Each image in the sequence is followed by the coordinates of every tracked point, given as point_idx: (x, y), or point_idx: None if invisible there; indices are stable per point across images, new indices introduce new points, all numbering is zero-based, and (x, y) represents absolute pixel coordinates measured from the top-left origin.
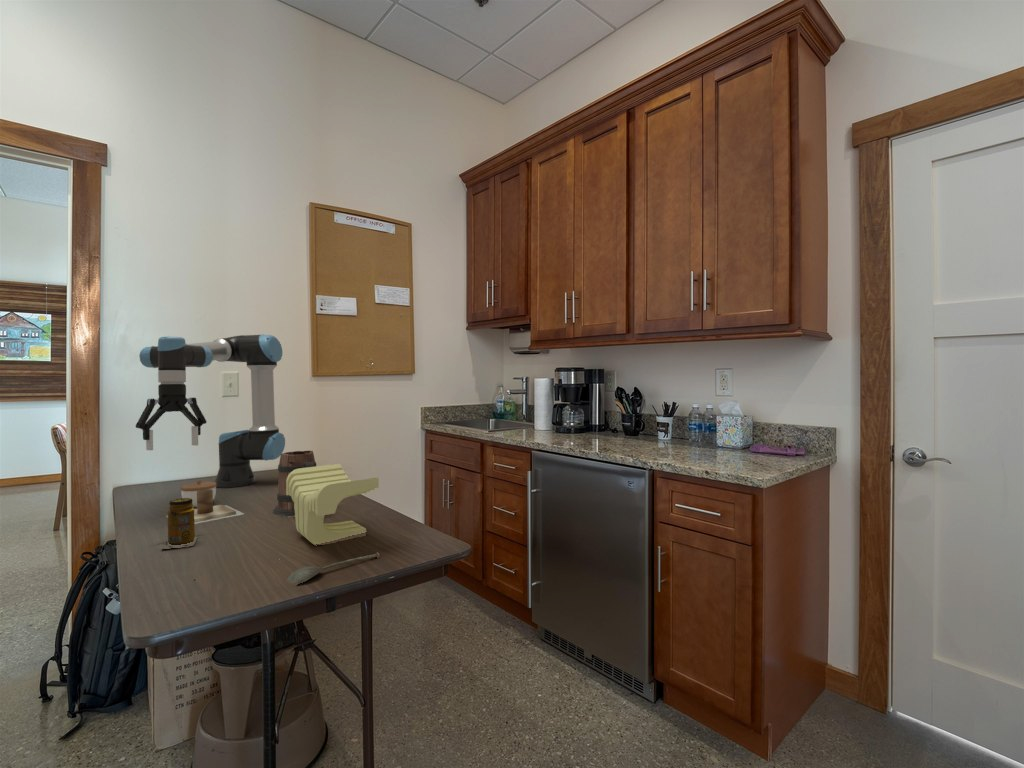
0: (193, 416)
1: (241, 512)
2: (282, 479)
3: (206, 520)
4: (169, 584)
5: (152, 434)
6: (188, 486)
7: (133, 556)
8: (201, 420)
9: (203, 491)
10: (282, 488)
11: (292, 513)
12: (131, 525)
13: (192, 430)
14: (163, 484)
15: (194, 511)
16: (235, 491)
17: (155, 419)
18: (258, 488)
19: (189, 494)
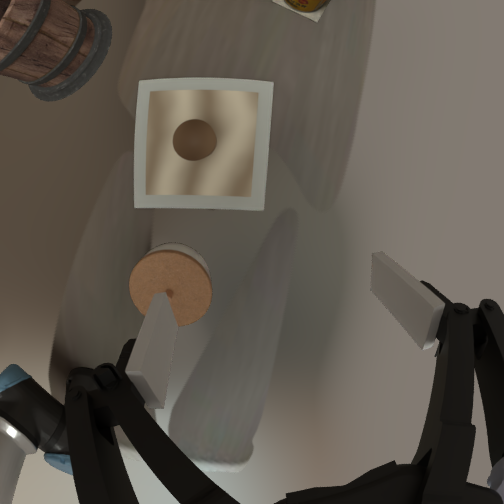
0: (140, 443)
1: (137, 100)
2: (60, 8)
3: (217, 87)
4: None
5: (419, 291)
6: (196, 286)
7: (366, 7)
8: (91, 410)
9: (199, 132)
10: (71, 15)
11: (93, 13)
12: (325, 204)
13: (162, 378)
14: (194, 450)
15: (214, 171)
16: (98, 341)
17: (462, 359)
18: (62, 329)
19: (200, 260)
